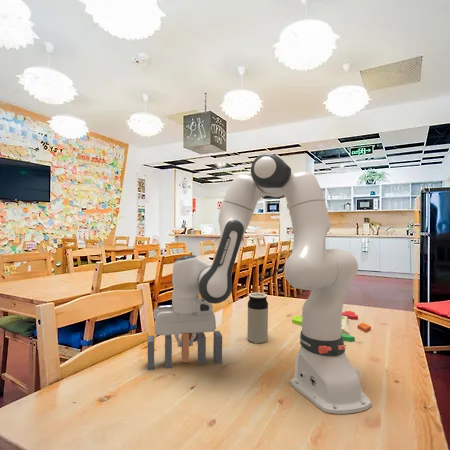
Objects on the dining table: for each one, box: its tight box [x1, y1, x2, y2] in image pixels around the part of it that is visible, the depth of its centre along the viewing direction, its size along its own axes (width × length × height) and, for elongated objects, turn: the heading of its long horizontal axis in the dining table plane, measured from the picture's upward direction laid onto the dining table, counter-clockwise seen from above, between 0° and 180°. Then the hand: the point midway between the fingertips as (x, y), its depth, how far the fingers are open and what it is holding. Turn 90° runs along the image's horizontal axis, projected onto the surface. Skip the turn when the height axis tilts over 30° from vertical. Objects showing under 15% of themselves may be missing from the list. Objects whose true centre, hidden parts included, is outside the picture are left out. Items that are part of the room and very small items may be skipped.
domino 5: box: [212, 330, 223, 364], centre depth 105 cm, size 2×5×9 cm, turn 13°
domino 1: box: [147, 335, 155, 371], centre depth 100 cm, size 2×5×9 cm, turn 13°
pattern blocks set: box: [291, 310, 372, 343], centre depth 141 cm, size 38×34×3 cm
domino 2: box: [164, 335, 173, 369], centre depth 101 cm, size 2×5×9 cm, turn 13°
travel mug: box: [246, 292, 269, 344], centre depth 123 cm, size 8×8×18 cm
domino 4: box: [197, 332, 207, 366], centre depth 104 cm, size 2×5×9 cm, turn 13°
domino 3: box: [181, 333, 190, 363], centre depth 103 cm, size 2×5×9 cm, turn 12°
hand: (185, 345), depth 103 cm, fingers closed on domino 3, 2 cm apart
